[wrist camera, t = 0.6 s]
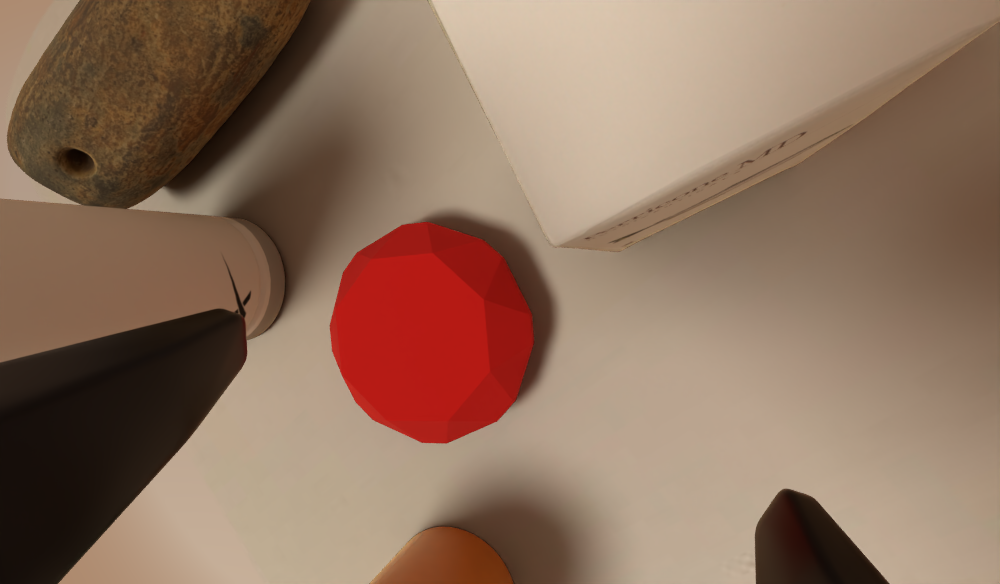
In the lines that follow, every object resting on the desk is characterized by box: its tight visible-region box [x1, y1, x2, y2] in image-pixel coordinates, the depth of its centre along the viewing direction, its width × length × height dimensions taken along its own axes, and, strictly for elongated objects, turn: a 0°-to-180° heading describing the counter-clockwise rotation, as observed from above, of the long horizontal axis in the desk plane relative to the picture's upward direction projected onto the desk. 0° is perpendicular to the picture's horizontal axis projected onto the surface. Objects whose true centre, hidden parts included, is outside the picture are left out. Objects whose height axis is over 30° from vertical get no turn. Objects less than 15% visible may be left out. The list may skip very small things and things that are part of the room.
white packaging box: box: [428, 0, 1000, 252], centre depth 14 cm, size 7×7×13 cm
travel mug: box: [0, 199, 285, 362], centre depth 18 cm, size 6×7×20 cm
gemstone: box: [330, 222, 534, 443], centre depth 22 cm, size 9×9×3 cm
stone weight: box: [7, 0, 311, 209], centre depth 23 cm, size 15×7×7 cm, turn 135°
